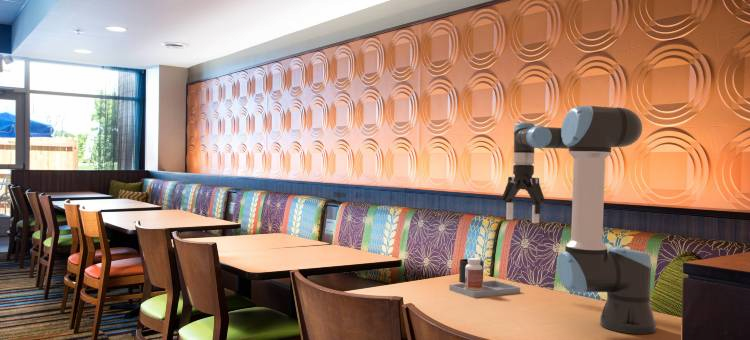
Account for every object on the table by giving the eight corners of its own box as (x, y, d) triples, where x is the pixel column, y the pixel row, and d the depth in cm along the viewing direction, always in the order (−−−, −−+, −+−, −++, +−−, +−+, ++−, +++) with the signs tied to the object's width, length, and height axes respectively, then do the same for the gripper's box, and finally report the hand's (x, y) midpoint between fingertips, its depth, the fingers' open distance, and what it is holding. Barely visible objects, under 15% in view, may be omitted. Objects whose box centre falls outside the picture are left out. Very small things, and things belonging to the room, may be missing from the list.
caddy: (520, 294, 217) (520, 287, 217) (473, 299, 206) (473, 292, 206) (494, 286, 229) (494, 280, 229) (449, 291, 218) (449, 284, 218)
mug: (468, 279, 244) (468, 257, 244) (487, 284, 234) (488, 261, 234) (450, 280, 239) (450, 258, 239) (469, 286, 229) (470, 263, 229)
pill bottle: (485, 289, 215) (486, 259, 215) (473, 291, 211) (474, 260, 211) (473, 286, 220) (474, 257, 220) (461, 288, 216) (462, 258, 216)
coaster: (488, 293, 214) (488, 290, 214) (471, 295, 210) (471, 292, 210) (474, 289, 220) (474, 286, 220) (458, 291, 217) (458, 287, 217)
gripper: (556, 164, 211) (554, 224, 211) (508, 164, 232) (506, 218, 232) (541, 164, 207) (539, 224, 207) (493, 163, 229) (492, 218, 229)
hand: (522, 221), depth 220 cm, fingers open, 13 cm apart
